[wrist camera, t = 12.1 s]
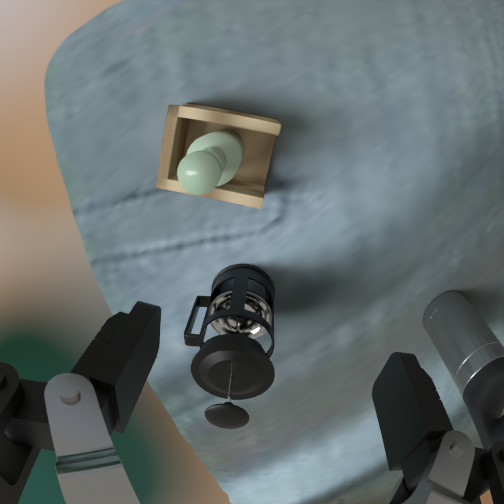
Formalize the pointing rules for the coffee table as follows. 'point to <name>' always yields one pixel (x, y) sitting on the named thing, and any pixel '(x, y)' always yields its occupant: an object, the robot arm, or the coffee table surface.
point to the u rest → (207, 121)
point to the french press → (233, 343)
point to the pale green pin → (211, 161)
